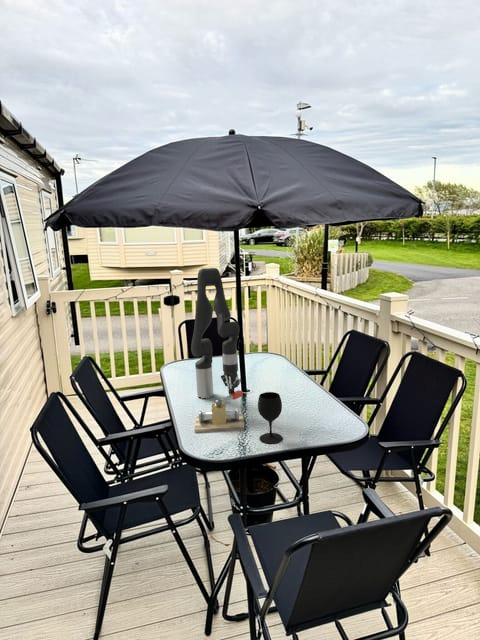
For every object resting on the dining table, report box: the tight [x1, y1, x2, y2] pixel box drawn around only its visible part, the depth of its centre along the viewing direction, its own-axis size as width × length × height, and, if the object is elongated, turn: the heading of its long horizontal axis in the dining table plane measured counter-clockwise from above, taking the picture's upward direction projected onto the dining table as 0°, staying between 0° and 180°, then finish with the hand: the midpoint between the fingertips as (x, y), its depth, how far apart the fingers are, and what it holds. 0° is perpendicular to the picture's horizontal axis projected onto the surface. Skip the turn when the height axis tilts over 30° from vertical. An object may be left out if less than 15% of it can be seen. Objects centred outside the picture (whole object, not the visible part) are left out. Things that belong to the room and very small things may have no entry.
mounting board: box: [193, 413, 245, 433], centre depth 205 cm, size 15×23×2 cm, turn 91°
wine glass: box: [257, 391, 284, 445], centre depth 186 cm, size 10×10×20 cm
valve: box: [198, 402, 240, 425], centre depth 204 cm, size 6×19×8 cm, turn 91°
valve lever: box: [214, 390, 244, 406], centre depth 208 cm, size 17×3×3 cm, turn 137°
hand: (231, 395), depth 214 cm, fingers closed
